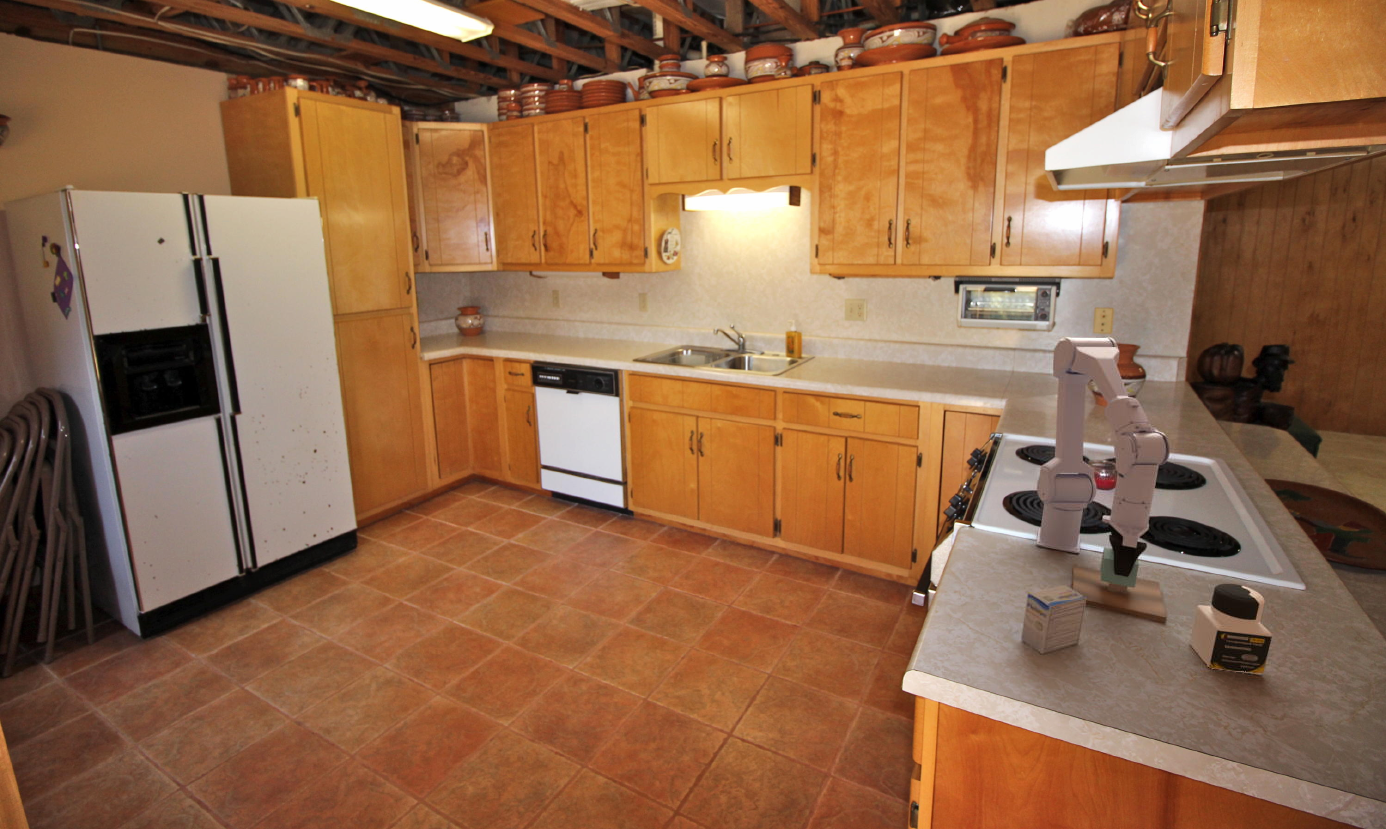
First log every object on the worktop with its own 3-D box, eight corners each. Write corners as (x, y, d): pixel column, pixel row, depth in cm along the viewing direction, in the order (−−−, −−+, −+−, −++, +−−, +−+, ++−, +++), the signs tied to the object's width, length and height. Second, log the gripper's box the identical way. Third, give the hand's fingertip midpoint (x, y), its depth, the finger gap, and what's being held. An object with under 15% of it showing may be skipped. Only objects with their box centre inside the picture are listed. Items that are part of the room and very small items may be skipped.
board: (1073, 569, 135) (1073, 565, 135) (1157, 586, 129) (1158, 581, 129) (1072, 601, 124) (1072, 597, 123) (1165, 622, 117) (1166, 617, 117)
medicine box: (1056, 630, 115) (1063, 583, 113) (1079, 645, 111) (1087, 596, 109) (1020, 640, 112) (1026, 592, 110) (1042, 655, 108) (1050, 606, 106)
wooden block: (1107, 584, 128) (1110, 567, 127) (1125, 587, 127) (1128, 570, 126) (1108, 590, 125) (1111, 573, 125) (1126, 594, 124) (1129, 576, 123)
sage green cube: (1100, 568, 129) (1103, 546, 128) (1132, 575, 126) (1136, 553, 125) (1100, 580, 125) (1104, 558, 123) (1134, 587, 122) (1138, 564, 121)
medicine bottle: (1208, 669, 104) (1224, 598, 101) (1188, 643, 111) (1202, 576, 108) (1263, 676, 103) (1281, 604, 100) (1239, 649, 110) (1255, 581, 106)
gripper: (1105, 481, 129) (1094, 547, 133) (1107, 507, 117) (1095, 579, 121) (1150, 488, 126) (1137, 555, 130) (1157, 515, 114) (1143, 589, 117)
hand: (1120, 568), depth 125 cm, fingers closed on sage green cube, 5 cm apart
